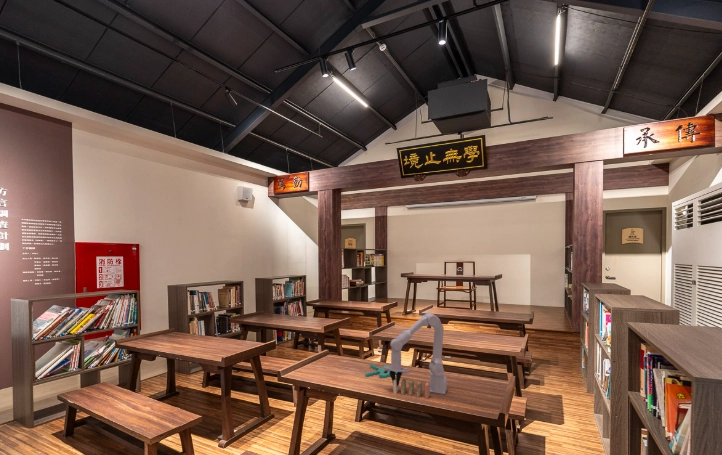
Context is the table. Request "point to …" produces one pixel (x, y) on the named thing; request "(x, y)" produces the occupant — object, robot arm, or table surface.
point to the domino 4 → (427, 390)
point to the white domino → (395, 386)
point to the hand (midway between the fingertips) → (396, 384)
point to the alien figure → (379, 372)
